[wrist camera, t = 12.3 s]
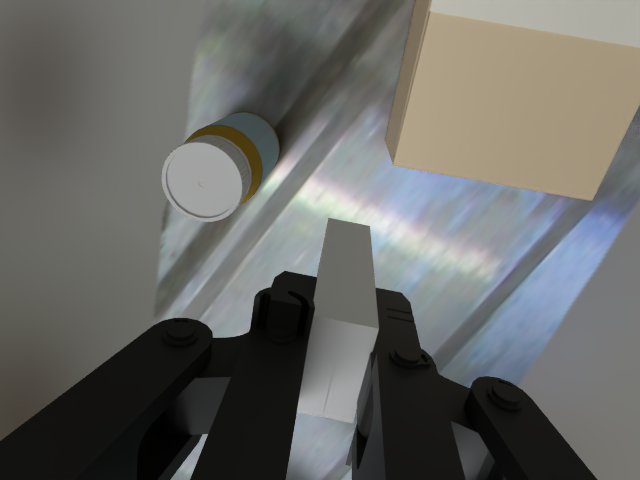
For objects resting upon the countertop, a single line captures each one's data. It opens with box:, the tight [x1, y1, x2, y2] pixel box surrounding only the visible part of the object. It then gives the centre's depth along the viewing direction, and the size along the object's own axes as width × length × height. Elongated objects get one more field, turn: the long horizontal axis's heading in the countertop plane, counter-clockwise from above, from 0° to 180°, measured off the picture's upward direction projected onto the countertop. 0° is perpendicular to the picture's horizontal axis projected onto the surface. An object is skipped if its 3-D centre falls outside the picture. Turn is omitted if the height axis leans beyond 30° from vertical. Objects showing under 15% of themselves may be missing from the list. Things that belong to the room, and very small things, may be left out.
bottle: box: [162, 112, 280, 222], centre depth 39 cm, size 7×7×15 cm
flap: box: [393, 0, 640, 201], centre depth 32 cm, size 14×16×1 cm
